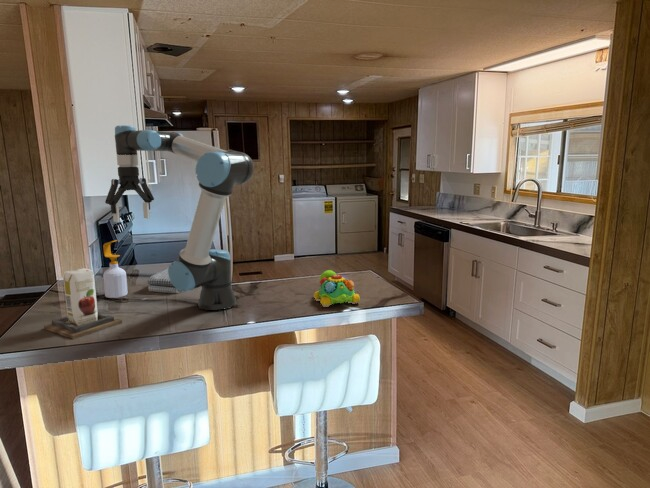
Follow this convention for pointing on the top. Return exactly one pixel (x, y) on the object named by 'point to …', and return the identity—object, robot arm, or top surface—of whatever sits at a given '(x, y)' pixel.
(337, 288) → the turtle toy
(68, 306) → the juice carton
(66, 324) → the base plate
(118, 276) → the soap bottle
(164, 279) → the towel
